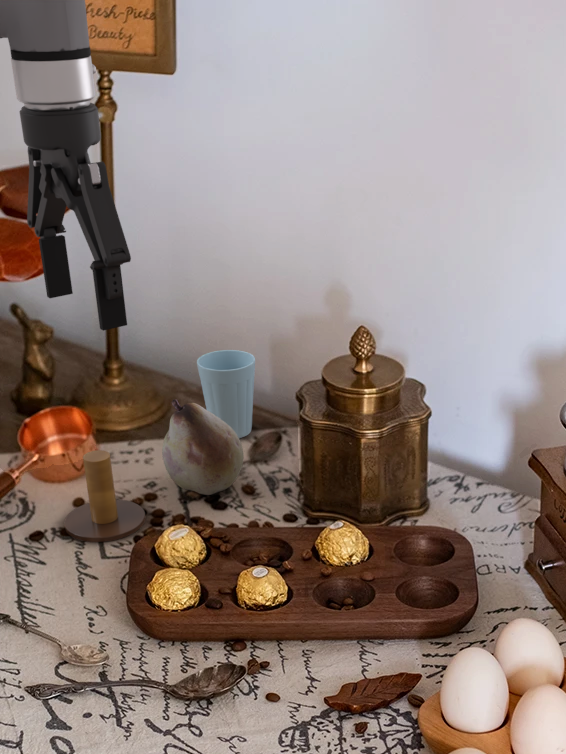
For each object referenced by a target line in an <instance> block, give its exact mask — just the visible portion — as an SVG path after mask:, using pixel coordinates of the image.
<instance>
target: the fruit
mask: <svg viewBox="0 0 566 754" xmlns="http://www.w3.org/2000/svg"><path fill="white" fill-rule="evenodd" d="M171 405H172V406H173V407H174V408H175V409H176V410H175V411H174V412H173V413H172V414H171V417H170V420H169V428H168V430H167V432H166V434H165V435H164V439H163V443H162V449H161V455H162V461H163V465H164V468H165V470H166V472H167V474H168V475H169V477H170V479H171V480H172V481H173V482H174V483H175V485H177V487H179V488H181V489H182V490H187V491H192V492H195V493H197V494H199V495H204V496H210V495H214V494H216V493H219V492H222V491H225V490H227V489H228V488H230V487H231V486H232V485H233V484H234V483H235V482H236V480H237V479H238V477H239V476H240V473H241V470H242V467H243V465H244V458H245V457H244V456H245V454H244V449H243V448H244V447H243V444H242V441H241V440H240V438H238V436H237V434H236V433H235V431H234V430H233V429H232V428H231V427H230V426H229V425H228V424H226V423H225V422H224V421H223V420H221V419H220V418H218V417H217V416H215V415H214V414H212V413H211V412H209V411H207V409H206V408H205V407H203V406H201V405H200V404H198V403H195V402H187V403H184V404H182V406H181V405H180V404H179V402H178V399H176V398H174V399H172V401H171Z"/></svg>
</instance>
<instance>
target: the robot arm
mask: <svg viewBox="0 0 566 754" xmlns="http://www.w3.org/2000/svg"><path fill="white" fill-rule="evenodd" d="M87 16H88V15H87V5H86V0H0V39H7V41H8V44H9V50H10V62H11V69H12V75H13V82H14V90H15V95H16V100H17V101H19V102H20V103H22V104H23V106H22V107H21V108H20V110H19V117H20V122H21V123H20V124H21V131H22V138H23V142H24V144H25V145H26V146H27V157H28V163H29V164H28V165H29V166H28V167H29V168H28V191H27V192H28V193H27V213H26V224H27V226H28V227H29V228H30V229H32V228H34V234H35V236H36V237H37V238H38V244H39V251H40V257H41V264H42V271H43V278H44V284H45V291H46V297H47V298H48V299H54V298H59V297H64V296H69V295H73V285H72V278H71V272H70V264H69V256H68V250H67V249H68V248H67V242H66V236H65V235H63V233H67V230H66V228H65V225H64V224H63V221H64V218H65V214H66V209H69V210H71V211H73V213H74V215H75V217H76V219H77V221H78V224H79V227H80V229H81V231H82V233H83V237H84V239H85V241H86V243H87V246H88V248H89V251H90V253H91V255H92V258H93V261H92V262H91V264H90V266H89V268H90V270H91V271H92V279H93V285H94V293H95V300H96V308H97V316H98V323H99V329H100V330H102V331H108V330H113V329H117V328H122V327H125V326H128V319H127V311H126V310H127V309H126V302H125V293H124V285H123V278H122V277H123V275H122V268H121V265H123V264H126V263H127V264H128V263H130V262H131V259H132V256H131V253H130V249H129V246H128V243H127V239H126V237H125V233H124V230H123V227H122V224H121V221H120V218H119V217H120V216H119V214H118V211H117V207H116V204H115V201H114V198H113V194H112V191H111V188H110V184H109V178H108V172H107V171H108V170H107V166H106V164H105V162H104V161H97V162H91V159H90V155H89V153H88V150H89V148H90V147H92V146H95V145H97V144H99V143H100V142H101V139H102V133H101V124H100V117H99V108H98V107H97V106H96V104H95V103H93V102H91V101H92V100H94V99H95V98H96V87H95V78H94V74H96V72H97V67H96V66H95V64H93V61H92V55H91V54H92V52H91V46H90V36H89V26H88V25H89V24H88V17H87Z"/></svg>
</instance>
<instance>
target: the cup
mask: <svg viewBox="0 0 566 754" xmlns="http://www.w3.org/2000/svg"><path fill="white" fill-rule="evenodd" d="M196 366H197V370H198V375H199V379H200V383H201V384H200V385H201V389H202V394H203V399H204V404H205V409H206V410H207V411H209V412H211V413H212V414H214V415H215V416H217V417H218V418H220V419H221V420H223V421H224V422H225V423H226V424H228V425H229V426H230V427H231V428H232V429H233V430H234V431H235V433H236V434H237V436H238V438H239V439H241V438H245V437H247V436H248V435H249V434H251V432H252V427H253V410H254V393H255V392H254V390H255V374H256V373H255V372H256V357H255V355H253V353H250V352H248V351H244V350H238V349H221V350H215V351H211V352H207V353H205V354H202V355H200V356H199V357H198V358H197V360H196Z"/></svg>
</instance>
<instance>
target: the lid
mask: <svg viewBox="0 0 566 754" xmlns="http://www.w3.org/2000/svg"><path fill="white" fill-rule="evenodd" d="M82 462H83V468H84V476H85V482H86V488H87V496H88V502H87V503H85V504H83V505H80V506H78V507H76V508H74V509H73V510H71V511H70V512H69V513H68V514H67V515H66V517H65V519H64V522H63V524H64V529H65V531H66V533H67V535H69V536H70V537H71V538H74V539H76V540H79V541H83V542H89V543H91V542H92V543H104V542H105V543H106V542H112V541H116V540H120V539H123V538H124V539H125V538H126V537H129V536H131V535H133V534H134V533H136V532H138V531H139V530H141V528H142V527H143V526H144V525H145V522H146V512H145V509H144V508H143V507H142V506H141V505H139V504H137V503H136V502H133V501H130V500H125V499H117V497H116V490H115V483H114V482H115V481H114V474H113V466H112V459H111V453H110V452H109V451H107V450H103V449H101V450H100V449H97V450H91V451H89V452H88V451H87V452H86V453H85V454H83V456H82Z"/></svg>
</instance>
